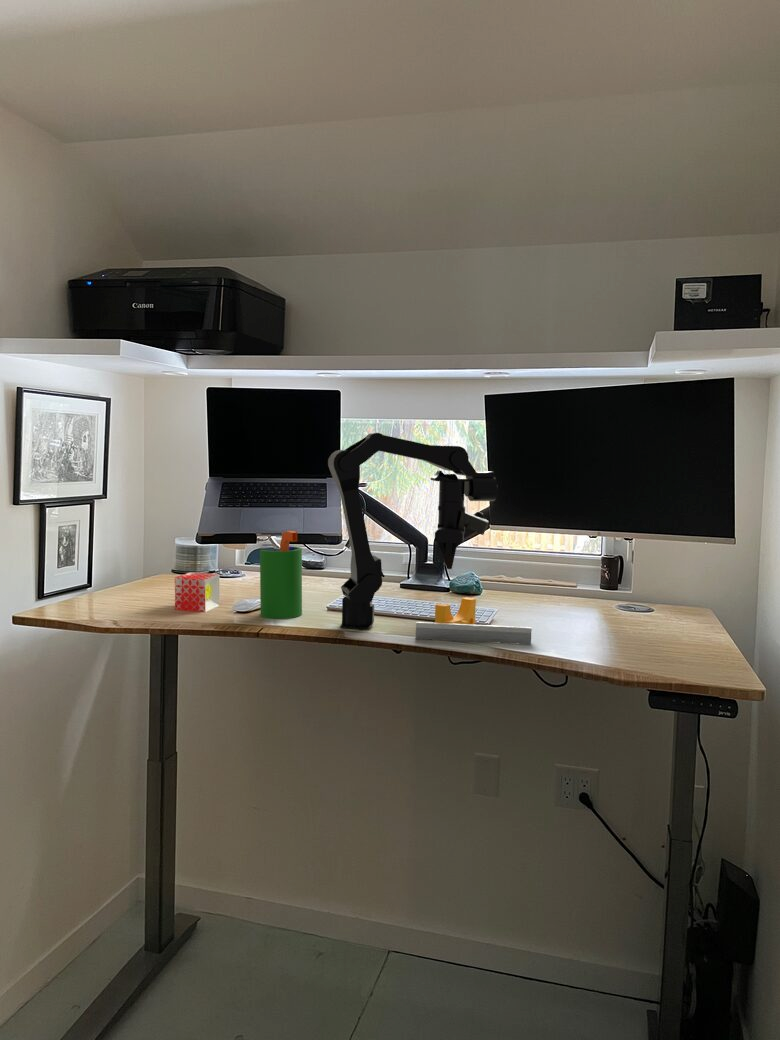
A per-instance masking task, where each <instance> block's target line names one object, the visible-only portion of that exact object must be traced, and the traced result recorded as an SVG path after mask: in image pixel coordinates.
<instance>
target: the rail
mask: <svg viewBox="0 0 780 1040" xmlns="http://www.w3.org/2000/svg"><path fill="white" fill-rule="evenodd" d="M532 630H533V629H532V627H531V626H529V627H528V626H514V625H513V626H512V625H511V626H510V625H509V626H508V625H490V624H489V625H488V624H487V625H486V624H475V625H472V624H452V623H435V622H432V621H431V622H429V621H427V622H426V621H425V622H424V621H415V639H416V640H427V639H434V641H446V640H450V641H449V642H452V641H453V642H466V641H468V642H469V643H485V642H500V643H499V644H505V643H519V644H518V645H524V644H531V645H532Z"/></svg>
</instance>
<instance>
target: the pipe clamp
mask: <svg viewBox="0 0 780 1040" xmlns="http://www.w3.org/2000/svg"><path fill="white" fill-rule="evenodd" d="M476 600H477V599H476V598H473V597H467V596H465V597H461V601H460V606H459V609H458V611H457V612H456V614H455V615H454V616H453V614H452V611H451V604H446V603H445V604H444V603H437V604H436V603H435V605H434V607H435V608H434V609H435V610H434V623H452V624H472V625H476V605H477V601H476Z"/></svg>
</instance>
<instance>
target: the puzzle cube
mask: <svg viewBox="0 0 780 1040" xmlns="http://www.w3.org/2000/svg"><path fill="white" fill-rule="evenodd" d="M220 583H221V582H220V574H219V573H206V572H191V571H190V572H187V573H183V574H182V575H179V576H176V577H174V610H176V611H186V612H187V611H188V612H198V613H199V612H200V613H202V612H203V613H206V612H208V611H210V610H213V609H216V608H217V607H219V606H220V605H221V604H220V600H221V599H220V596H221V595H220V586H221V585H220Z"/></svg>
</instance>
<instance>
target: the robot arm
mask: <svg viewBox="0 0 780 1040" xmlns="http://www.w3.org/2000/svg"><path fill="white" fill-rule="evenodd" d="M378 452H382V453H386V454H390V455H391V454H392V455H396V456H402V457H404V458H405V457H406V458H410V459H414V460H419V461H423V462H425V463H428V464H430V465H432V466H434V467H437V468H439V469H442V470H444V471H449V472H453V473H444V472H443V471H442V470H437V471H436V472H435V474H433V475H432V476H431V477H430V481H433V482H439V484H438V485H439V488H438V489H439V490H438V492H439V493H438V506H437V510H438V519H437V520H438V521H437V529H436V530H435V532H434V542H436V543H437V546H438V548H439V551H440V553H441V556H442V559H443V561H444V564H445V567H446V569H447V570H452V568H453V566H454V560H455V556H456V552H457V548H458V547H459V546H460V545H461V544H462V543H464V539H465V537H464V536H465V533H466V529H469V530H471V531H473V532H475V533H477V534H479V535H482V536H484V534H485V532H486V529H487V528H488V525H489V520H487V518H484V513H483V512H480V511H479V510H477V511H476V512H475V513H474V514H473V513H471V512H467V511H466V506H465V497H467V499H468V500H469V501H470V502H495V501H496V500H497V498H498V496H499V495H498V494H499V486H498V482H497V478H496V476H495V475H496V473H495V472H494V471H483V472H482V471H480V472H479V471H476V469H475V467H474V466H473V465H472V463H471V462H470V461H469V458H470V457H469V454H468V452H467V450H466V449H465V448H464V447H462V446H459V445H442V444H441V445H438V444H437V445H435V444H433V445H432V444H431V445H430V444H426V443H421V442H417V441H413V440H407V439H403V438H400V437H399V438H398V437H394V436H391V435H389V436H388V435H386V434H385V435H384V434H383V433H380V432H370V433H368V434H367V435H366V436H365V437H363V438H362V439H360V440H359V441H357V442H356V443H353V444H352V445H349V446H348V447H347V448H345V449H338V450H335V451H334V452H332V453H331V455H330V456H329V457H328V459H327V466H328V468H329V472H330V474H331V477H332V479H333V481H334V483H335V485H336V489H338V493H339V497H340V500H341V505H342V510H343V516H344V520H345V526H346V529H347V535H348V541H349V545H350V550H351V551H350V552H351V557H350V577H349V578H348V579H347V580H346V581H345V582H344V583H342V585H341V586H340V589H341V592H342V594H343V596H344V597H342V602H341V605H342V607H341V609H342V610H341V624H340V626H339V627H340V628H341V629H356V630H357V629H358V630H359V629H361V630H369V629H370V628H371V627H372V626H373V625H374V623H375V604H373V600H374V597H375V594H376V593H377V592H378V591H379V590H380V589H381V587H382V585H383V578H385V574H384V573H383V570H382V560H381V558H379V557H378V556H376V555H373V554H372V552H371V549H370V543H369V538H368V532H367V527H366V522H365V517H364V512H363V507H362V500H361V496H360V489H359V487H360V480H361V479H360V478H361V477H360V476H361V469H360V467H361V465H363V464H364V463H365V462H367V461H368V460H369V459H371V458H372V457H373V456H374V455H376V453H378ZM458 476H462V477H463V476H465V478H458Z"/></svg>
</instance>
